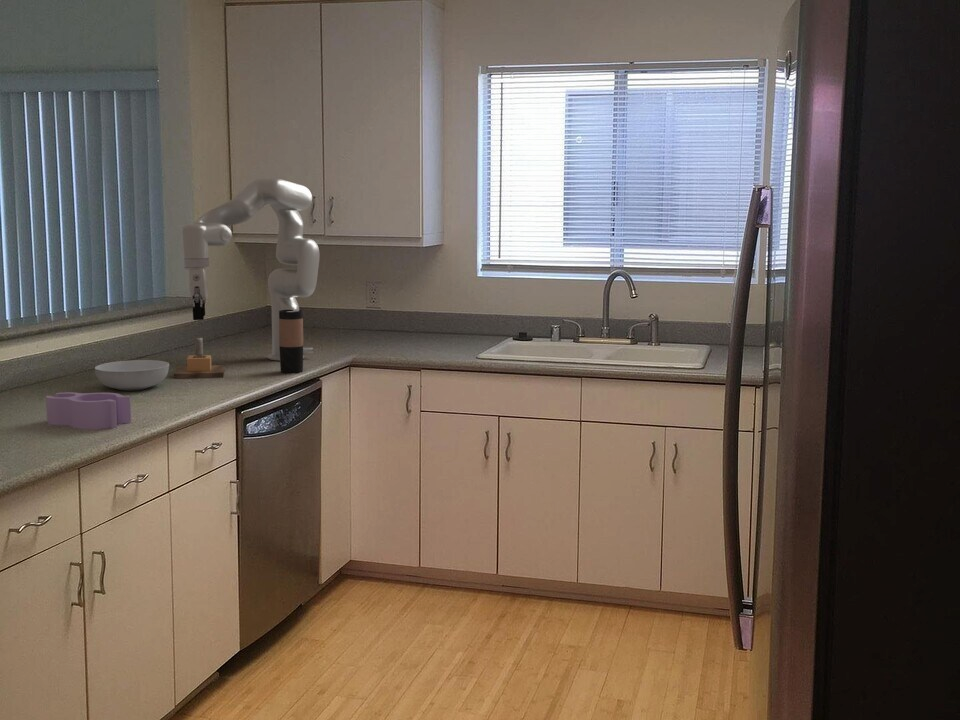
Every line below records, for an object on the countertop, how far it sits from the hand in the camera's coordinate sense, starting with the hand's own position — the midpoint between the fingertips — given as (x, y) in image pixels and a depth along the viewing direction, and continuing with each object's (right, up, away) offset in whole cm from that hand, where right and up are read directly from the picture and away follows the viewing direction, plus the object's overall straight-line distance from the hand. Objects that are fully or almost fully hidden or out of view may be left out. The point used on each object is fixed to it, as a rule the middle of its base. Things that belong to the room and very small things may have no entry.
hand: (199, 317), depth 334 cm
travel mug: (+28, -17, +8) cm, 34 cm away
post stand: (-1, -18, +2) cm, 18 cm away
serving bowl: (-14, -22, -23) cm, 34 cm away
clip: (-9, -30, -71) cm, 78 cm away
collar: (-1, -16, +2) cm, 17 cm away
